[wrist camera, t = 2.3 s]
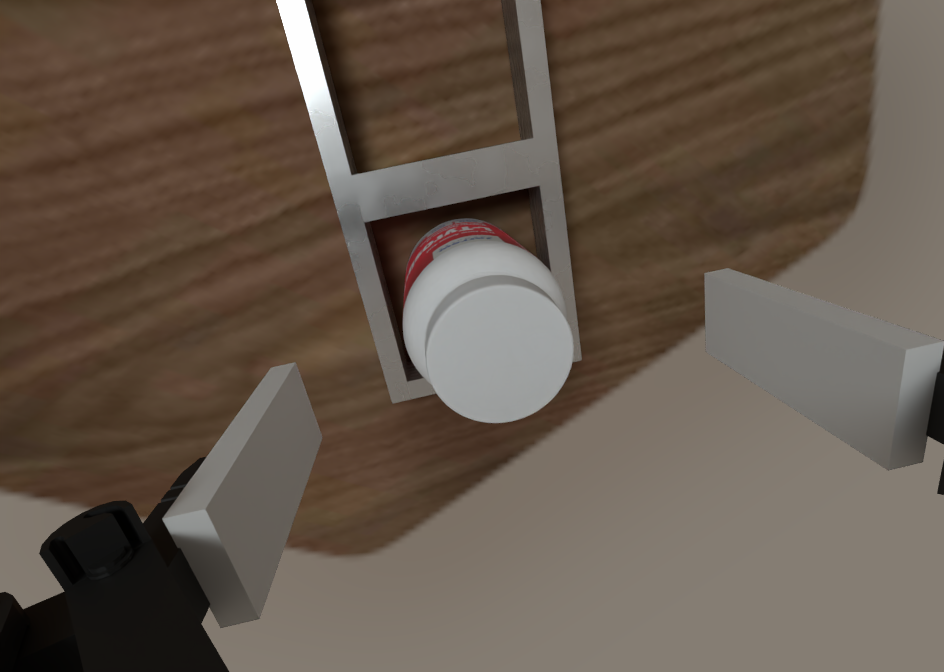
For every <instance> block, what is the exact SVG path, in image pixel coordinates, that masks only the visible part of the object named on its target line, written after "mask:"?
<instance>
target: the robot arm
mask: <svg viewBox="0 0 944 672" xmlns="http://www.w3.org/2000/svg"><path fill="white" fill-rule="evenodd" d="M705 332H706V334H705V336H706V352H707V353H708V354H710V355H711V356H713V357H714V358H716V359H718V360H719V361H721V362H722V363H724V364H725V365H727V366H728V367H730V368H732V369H733V370H734V371H736V372H738V373H739V374H741V375H742V376H744V377H745V378H747V379H748V380H750V381H751V382H753V383H754V384H756V385H758V386H759V387H761V388H762V389H764V390H765V391H767V392H768V393H770V394H772V395H773V396H774V397H776V398H778V399H779V400H781V401H782V402H784V403H785V404H787V405H788V406H790V407H791V408H793V409H794V410H796V411H797V412H799V413H800V414H802V415H804V416H805V417H807V418H808V419H810V420H812V421H813V422H814V423H816V424H817V425H819V426H821V427H822V428H824V429H825V430H827V431H828V432H830V433H831V434H833V435H834V436H836V437H837V438H839V439H840V440H842V441H844V442H845V443H847V444H848V445H850V446H851V447H853V448H854V449H856V450H857V451H859V452H860V453H862V454H864V455H865V456H867V457H868V458H870V459H871V460H873V461H875V462H876V463H877V464H879V465H880V466H882V467H883V468H885V469H887V470H892V469H896V468H901V467H905V466H909V465H913V464H917V463H922V462H923V459H924V453H925V448H926V442H927V437H928V436H929V437H931V438H933V439H934V440H936V441H938V442H940V443H942V444H944V340H941V339H937V338H935V337H932V336H929V335H925V334H922V333H920V332H917V331H913V330H910V329H908V328H905V327H902V326H899V325H895V324H893V323H889V322H887V321H884V320H881V319H878V318H875V317H871V316H869V315H866V314H863V313H860V312H857V311H854V310H851V309H848V308H845V307H842V306H839V305H836V304H833V303H830V302H827V301H824V300H821V299H818V298H815V297H812V296H809V295H806V294H803V293H800V292H797V291H794V290H791V289H788V288H785V287H782V286H779V285H776V284H773V283H770V282H767V281H764V280H761V279H758V278H755V277H752V276H749V275H746V274H743V273H740V272H737V271H734V270H731V269H728V268H727V269H722V270H717V271H713V272H708V273H705ZM321 441H322V435H321V432H320V429H319V426H318V424H317V421H316V418H315V415H314V412H313V410H312V407H311V404H310V401H309V398H308V396H307V393H306V390H305V387H304V384H303V382H302V379H301V376H300V373H299V370H298V368H297V365H296V362H295V363H291V364H286V365H281V366H277V367H272V368H270V370H269V371H268V373H267V374H266V375H265V377H264V378H263V380H262V381H261V382H260V384H259V385H258V387H257V388H256V389H255V391H254V392H253V393H252V395H251V396H250V398H249V399H248V400H247V402H246V403H245V405H244V406H243V407H242V409H241V410H240V411H239V413H238V414H237V416H236V417H235V418H234V420H233V421H232V423H231V424H230V425H229V427H228V428H227V430H226V431H225V432H224V434H223V435H222V436H221V438H220V439H219V441H218V442H217V443H216V445H215V446H214V448H213V449H212V450H211V452H210V453H209V454H208V456H207V457H203V458H200V459H198V460H197V461H196V462H195V463H193V464H192V465H191V466H190V467H188V468H187V469H186V470H185V471H183V472H182V473H181V475H180V476H179V477H178V478H177V480H176V481H175V482H174V484H173V485H172V486H171V490H169V491H168V492H167V493H166V494H165V495H164V497H163V498H162V499H161V503H158V505H157V506H156V507H155V509H154V510H153V511H152V512H151V514H150V515H149V516H148V518H147V519H146V520H145V522H144V523H142V522H141V520H140V518H139V516H138V514H137V513H136V511H135V509H134V507H133V505H132V504H131V503H129V502H127V501H113V502H109V503H106V504H102V505H99V506H97V507H94V508H92V509H90V510H88V511H85V512H83V513H81V514H80V515H78V516H76V517H75V518H73V519H71V520H70V521H68V522H66V523H65V524H63V525H62V526H61V527H60V528H58V529H57V530H56V531H55V532H53V533H52V534H51V535H50V536H49V537H48V539H47V540H46V541H45V542H44V543H43V544H42V546H41V550H40V553H39V554H40V555H41V557H42V558H43V560H44V561H45V563H46V564H47V566H48V567H49V568H50V570H51V572H52V573H53V574H54V576H55V578H56V579H57V581H58V582H59V583H60V585H61V586H62V588H63V589H64V591H65V592H63V593H60V594H58V595H56V596H53V597H51V598H49V599H46V600H44V601H42V602H39V603H37V604H35V605H32V606H30V607H28V608H25V609H22V607H21V606H20V605H19V603H18V602H17V601H16V599H15V598H14V596H13V595H11V594H9V593H6V592H2V593H0V672H229V671H228V669H227V667H226V665H225V664H224V662H223V660H222V659H221V657H220V655H219V654H218V652H217V650H216V648H215V647H214V645H213V643H212V642H211V640H210V638H209V636H208V635H207V633H206V631H205V630H204V628H203V626H202V625H201V623H202V621H203V619H204V617H205V615H206V613H207V611H208V608H209V607H210V609H211V611H212V612H213V614H214V616H215V618H216V620H217V622H218V624H219V626H220V628H223V627H227V626H232V625H236V624H240V623H244V622H249V621H253V620H257V619H259V618H260V616H261V612H262V610H263V607H264V604H265V601H266V598H267V595H268V592H269V590H270V587H271V584H272V581H273V578H274V575H275V573H276V570H277V567H278V564H279V561H280V558H281V555H282V553H283V550H284V547H285V544H286V541H287V538H288V535H289V532H290V530H291V527H292V524H293V521H294V518H295V515H296V512H297V509H298V507H299V504H300V501H301V498H302V495H303V492H304V489H305V486H306V484H307V481H308V478H309V475H310V472H311V469H312V466H313V463H314V461H315V458H316V455H317V452H318V449H319V446H320V443H321ZM938 494H942V495H944V462H943V467H942V472H941V477H940V481H939V487H938Z"/></svg>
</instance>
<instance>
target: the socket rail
mask: <svg viewBox="0 0 944 672" xmlns="http://www.w3.org/2000/svg"><path fill="white" fill-rule="evenodd" d="M501 3H502V10H503V17H504V24H505V31H506V38H507V45H508V52H509V59H510V66H511V74H512V81H513V88H514V95H515V102H516V109H517V116H518V123H519V130H520V137H521V141H516V142H511V143H506V144H501V145H497V146H492V147H487V148H482V149H477V150H472V151H467V152H462V153H457V154H453V155H448V156H443V157H438V158H433V159H428V160H423V161H418V162H414V163H409V164H404V165H399V166H394V167H389V168H384V169H379V170H374V171H370V172H365V173H360V174H357V170H356V166H355V163H354V159H353V155H352V151H351V148H350V144H349V140H348V136H347V132H346V129H345V125H344V121H343V117H342V114H341V110H340V106H339V102H338V98H337V95H336V91H335V87H334V83H333V80H332V76H331V72H330V68H329V64H328V61H327V57H326V53H325V49H324V45H323V42H322V38H321V34H320V30H319V27H318V23H317V19H316V15H315V11H314V8H313V4H312V0H277V4H278V7H279V11H280V14H281V18H282V21H283V25H284V28H285V32H286V35H287V39H288V42H289V46H290V49H291V53H292V56H293V60H294V63H295V66H296V70H297V73H298V77H299V80H300V84H301V87H302V91H303V94H304V98H305V101H306V105H307V108H308V112H309V115H310V119H311V122H312V126H313V129H314V133H315V136H316V140H317V143H318V147H319V150H320V153H321V157H322V160H323V164H324V167H325V171H326V174H327V178H328V181H329V185H330V188H331V192H332V195H333V199H334V202H335V206H336V209H337V213H338V216H339V220H340V223H341V227H342V230H343V234H344V237H345V240H346V244H347V247H348V251H349V254H350V258H351V261H352V265H353V268H354V272H355V275H356V279H357V282H358V286H359V289H360V293H361V296H362V300H363V303H364V307H365V310H366V314H367V317H368V321H369V324H370V328H371V331H372V334H373V338H374V341H375V345H376V348H377V352H378V355H379V359H380V362H381V366H382V369H383V373H384V376H385V380H386V383H387V387H388V390H389V394H390V397H391V401H392V404H393V403H397V402H401V401H406V400H410V399H415V398H419V397H423V396H428V395H432V394H436V392H435V390H434V388H433V387H432V385H431V384H430V383H429V382H428V381H427V380H426V379H425V378H424V377H423V376H422V375H421V374H420V373H419V371H418V370H417V369H416V367H415V366H414V364H413V362H412V361H411V362H407V359H406V356H405V352H404V348H403V344H402V340H401V337H400V333H399V329H398V325H397V322H396V318H395V314H394V310H393V306H392V303H391V299H390V295H389V291H388V287H387V284H386V280H385V276H384V272H383V269H382V265H381V261H380V257H379V253H378V250H377V246H376V242H375V238H374V235H373V231H372V227H371V223H370V221H373V220H378V219H383V218H387V217H392V216H397V215H402V214H407V213H411V212H416V211H421V210H426V209H430V208H435V207H440V206H445V205H449V204H454V203H459V202H464V201H468V200H473V199H478V198H483V197H488V196H492V195H497V194H502V193H507V192H511V191H516V190H521V189H526V188H528V194H529V201H530V208H531V216H532V223H533V230H534V237H535V244H536V251H537V258H538V259H539V260H540V261H541V262H542V263H543V264H544V265H545V266H546V267H547V268H548V269H549V270H550V272H551V273H552V274H553V276H554V277H555V279H556V280H557V282H558V284H559V286H560V288H561V290H562V293H563V296H564V299H565V303H566V309H567V321H568V323H569V326H570V329H571V332H572V336H573V344H574V355H573V361H572V362H576V361H580V360H582V356H581V348H580V339H579V330H578V322H577V313H576V304H575V296H574V287H573V278H572V270H571V261H570V252H569V244H568V235H567V226H566V218H565V209H564V200H563V192H562V183H561V174H560V166H559V157H558V148H557V140H556V131H555V122H554V114H553V105H552V96H551V88H550V79H549V70H548V62H547V53H546V44H545V36H544V27H543V18H542V9H541V1H540V0H501Z"/></svg>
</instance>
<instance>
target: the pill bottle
mask: <svg viewBox="0 0 944 672" xmlns="http://www.w3.org/2000/svg"><path fill="white" fill-rule="evenodd" d="M403 336H404V341H405V346H406V349H407V351H408V354H409V356H410V359H411V361H412V362H413V364H414V366H415V367H416V369H417V370H418V371H419V373H420V374H421V375H422V376H423V377H424V378H425V379H426V380H427V381H428V382H429V383H430V384H431V385H432V387H433V388H434V390H435V392H436V393H437V395H438V396H439V397H440V398H441V400H442V401H443V402H444V403H445V404H446V405H447V406H448V407H450V408H451V409H452V410H454V411H455V412H457V413H458V414H460V415H462V416H464V417H467V418H469V419H472V420H476V421H480V422H486V423H504V422H511V421H515V420H518V419H521V418H524V417H527V416H529V415H531V414H533V413H535V412H537V411H538V410H540V409H541V408H543V407H544V406H545V405H546V404H547V403H549V402H550V401H551V400H552V399H553V398H554V397H555V396H556V394H557V393H558V392H559V390H560V389H561V387H562V386H563V384H564V382H565V381H566V379H567V377H568V374H569V372H570V369H571V366H572V361H573V355H574V344H573V336H572V332H571V329H570V326H569V323H568V321H567V309H566V303H565V299H564V296H563V293H562V290H561V288H560V286H559V284H558V282H557V280H556V279H555V277H554V276H553V274H552V273H551V272H550V270H549V269H548V268H547V267H546V266H545V265H544V264H543V263H542V262H541V261H540V260H539V259H538V258H537V257H536V256H534V255H533V254H532V253H530V252H529V251H528V250H527V249H525V248H524V247H523V246H522V245H520V244H519V243H518V242H516V241H515V240H514V239H513V238H511V237H510V236H509V235H508V234H506V233H505V232H504V231H502V230H501V229H500V228H498V227H496V226H494V225H492V224H490V223H488V222H485V221H482V220H477V219H468V218H465V219H455V220H451V221H447V222H445V223H442V224H440V225H438V226H436V227H435V228H433V229H432V230H430V231H429V232H428V233H426V234H425V235H424V236H423V237H422V238H421V239H420V241H419V242H418V243H417V244H416V246H415V248H414V249H413V251H412V253H411V255H410V258H409V260H408V264H407V268H406V275H405V290H404V305H403Z"/></svg>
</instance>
